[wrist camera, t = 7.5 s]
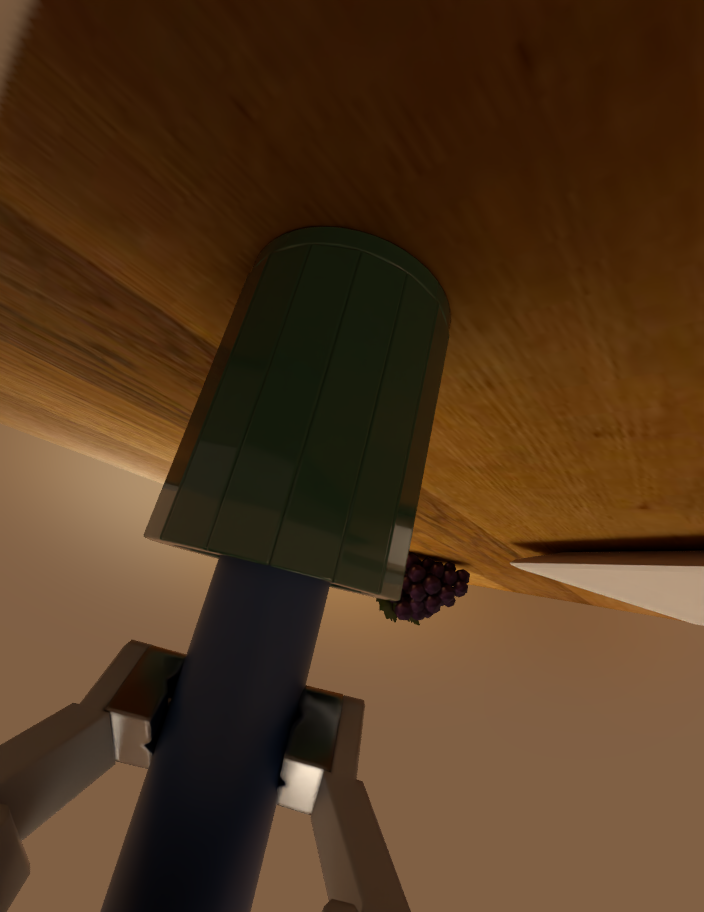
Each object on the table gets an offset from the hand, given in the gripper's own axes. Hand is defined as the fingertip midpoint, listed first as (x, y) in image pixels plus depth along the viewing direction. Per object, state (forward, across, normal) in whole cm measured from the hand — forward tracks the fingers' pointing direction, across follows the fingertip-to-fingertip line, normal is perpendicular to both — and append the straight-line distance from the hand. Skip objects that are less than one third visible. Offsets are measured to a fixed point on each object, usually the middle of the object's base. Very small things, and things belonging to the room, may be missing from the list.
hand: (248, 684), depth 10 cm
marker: (+7, 0, +8) cm, 10 cm away
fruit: (+43, +12, -28) cm, 53 cm away
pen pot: (+7, 0, +8) cm, 11 cm away
